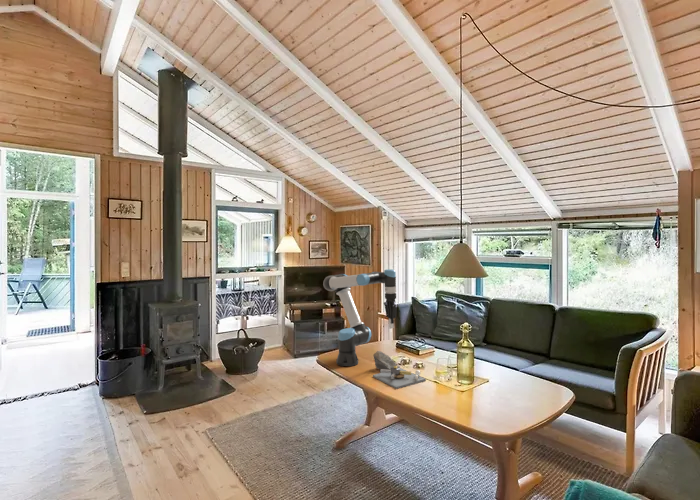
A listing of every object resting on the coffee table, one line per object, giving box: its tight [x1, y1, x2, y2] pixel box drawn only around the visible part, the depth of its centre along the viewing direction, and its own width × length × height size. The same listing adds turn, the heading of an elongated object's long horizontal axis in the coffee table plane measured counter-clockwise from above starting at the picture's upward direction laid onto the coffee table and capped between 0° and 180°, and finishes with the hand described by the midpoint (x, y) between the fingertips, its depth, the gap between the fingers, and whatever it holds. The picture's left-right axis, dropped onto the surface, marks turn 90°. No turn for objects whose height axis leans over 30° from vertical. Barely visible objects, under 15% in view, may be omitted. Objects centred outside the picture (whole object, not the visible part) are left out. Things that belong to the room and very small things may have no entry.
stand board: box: [372, 367, 427, 390], centre depth 237 cm, size 24×22×6 cm
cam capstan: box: [379, 365, 412, 379], centre depth 237 cm, size 19×19×6 cm
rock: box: [373, 350, 398, 371], centre depth 255 cm, size 12×8×15 cm, turn 39°
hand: (391, 328), depth 258 cm, fingers closed
